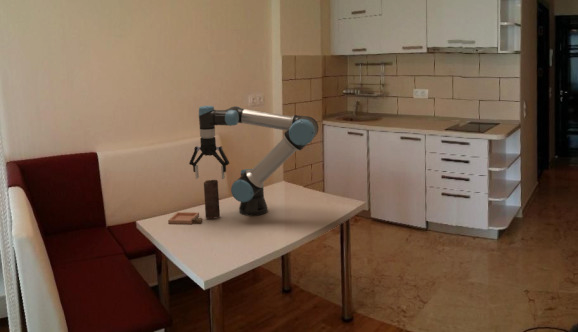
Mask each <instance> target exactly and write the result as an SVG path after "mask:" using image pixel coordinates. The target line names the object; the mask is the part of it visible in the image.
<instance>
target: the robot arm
mask: <svg viewBox="0 0 578 332" xmlns="http://www.w3.org/2000/svg"><path fill="white" fill-rule="evenodd" d="M198 121H199V137H200V138H199V139H200V142H199V143H200V146H198V145H196V146H194V149H193V154H192V156H191V158H190V161H189V163H188V164H189V165H191V166H192V170H193V173H195V174H194V175H195V179H196V180H197V179H199V177H200V176H199V164H198V163H199V162H200V161H201V160H202V158H203V157H204V156H205V157H207V156H213V157H214V158H215V159H216V160H217V161H218V163H220V164H221V166H220V170H221V172H220V173H221V180H224V179H225V177H226V176H225V173H226V171H227V166H228V165H230V161H229V159H228V157H227V156H226V153H225V152H224V149H223V146H221V145H220V146H217V144H216V141H217V140H216V126H229V127H232V126H237V125H238V124H244V125H250V126H258V127H263V128H267V129H274V130H280V131H284V133H283V138H282V139H281V140H280V141H279V142H278V143H277V144H276V145H275V146H274V147H272V149H271V150H270V151H269V152H268V153H267V154H266V155H265V156H264V157H263V158H262V159H261V160H260V161H259V162H258V163H257V164H256V165H255V166H254V167H253V168H246V169H242V170H241V171H240V176H239V177H238V178H237V180H234V181H233V183H232V185H231V188H230V192H231V195H232V197H233V198H234V199H235V200H236V201H238V202H240V204H239V207H238V208H239V209H238V211H239V212H238V213H239V214H240V215H244V216H249V217H251V216H253V217H254V216H261V215H264V214H267V212H268V209H269V208H268V205H267V202H266V200H265V199H266V198H265V196H264V195H265V193H264V189H265V188H264V186H265V185H264V182H265V181H267V180H268V178H270V177H271V176H272V175H273V174H274V173H275V172H276V171H277V170H278V169H279V168H280V167H281V166H282V165H284V163H285V162H286V161H287V160H288V159H289V158H291V156H293V155H294V154H295V152H297V151H299V152H300V151H302V150H303V149H304V148H306V146H307V145H308V144H310V143H311V142H312V141H314V138H315V137H316V136H317V135H318V133H319V124H318V122H317V120H316V119H315V118H314V117H311V116H307V115H299V114H293V115H285V114H280V113H279V114H278V113H272V112H265V111H259V110H254V109H248V108H242V107H240V106H235V105H234V106H231V107H229V108H227V109H221V110H220V109H218V110H217V109H215V107H214V106H213V105H202V106H200V107H199V108H198ZM199 151H201V153H200V154H199V156H198V157H197V154H198V152H199ZM218 152H219V154H218ZM196 157H197V158H196ZM195 159H196V160H195Z"/></svg>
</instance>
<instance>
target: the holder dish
mask: <svg viewBox="0 0 578 332" xmlns="http://www.w3.org/2000/svg"><path fill="white" fill-rule="evenodd" d="M193 218H200V212H191V211H190V212H186V211H184V212H183V211H182V212H181V211H180V212H179V211H178V212H175V214H173V215H172V216H171V217H170V218H169V219H168V221H167V222H168V225H193V224H192V220H191V219H193Z"/></svg>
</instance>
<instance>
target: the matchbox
mask: <svg viewBox="0 0 578 332" xmlns="http://www.w3.org/2000/svg"><path fill="white" fill-rule="evenodd" d="M191 220H192V224H191V225H202V224H203V218H202V217H201V218H200V217H198V218H193V219H191Z"/></svg>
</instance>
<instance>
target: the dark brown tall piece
mask: <svg viewBox="0 0 578 332" xmlns="http://www.w3.org/2000/svg"><path fill="white" fill-rule="evenodd" d="M203 191H204V193H203V194H204V209H205V210H204V212H205V218H207V219H216V218H221V214H220V213H221V212H220V211H221V210H220V197H219V181H218V180H217V179H211V180H210V179H209V180H205V181H204V182H203Z"/></svg>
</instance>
